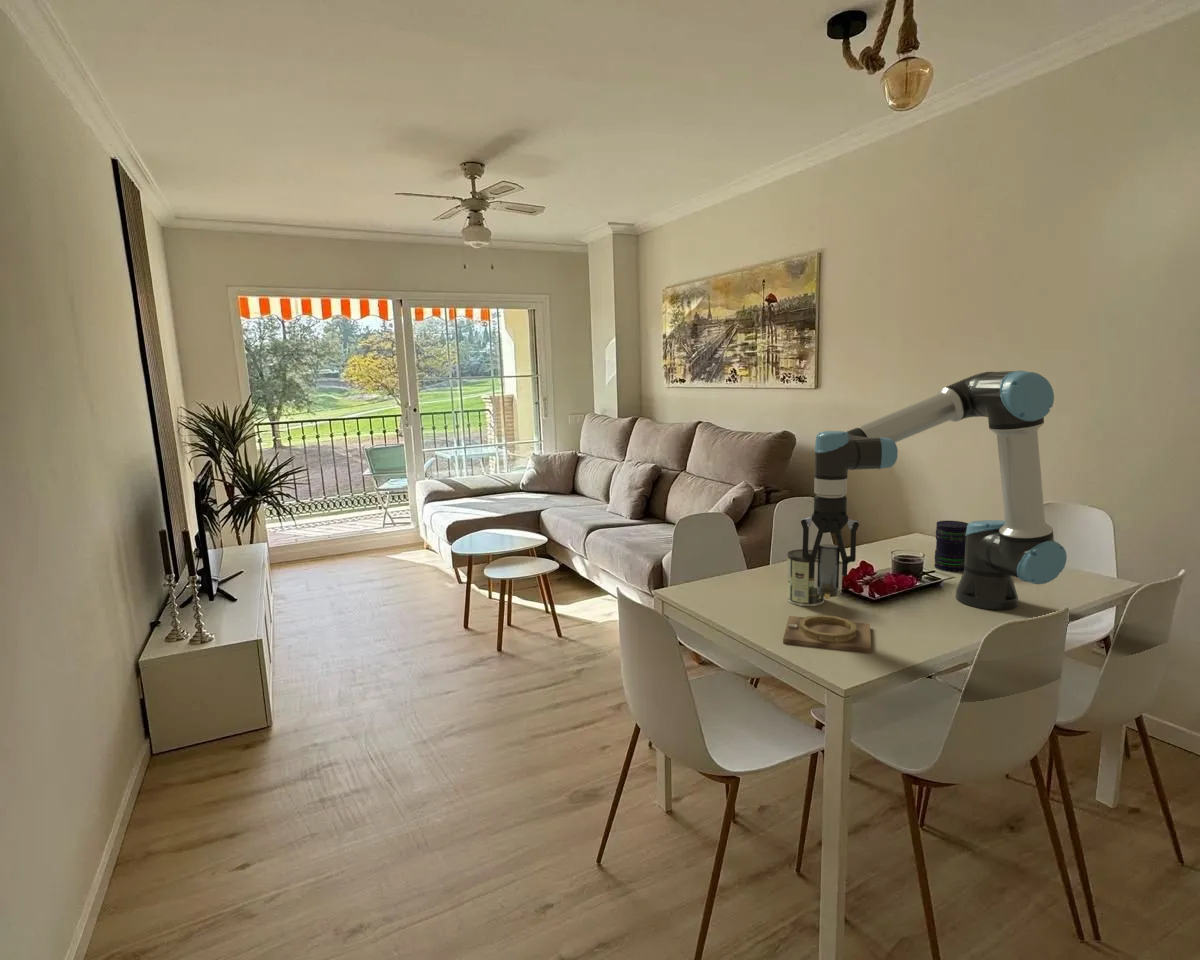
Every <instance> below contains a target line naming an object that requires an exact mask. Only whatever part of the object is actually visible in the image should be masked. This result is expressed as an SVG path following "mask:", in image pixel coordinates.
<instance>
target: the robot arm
mask: <svg viewBox="0 0 1200 960" xmlns="http://www.w3.org/2000/svg"><path fill="white" fill-rule="evenodd" d="M1054 401H1055V394H1054V389H1053V386H1052V385H1051V382H1049V380H1048V379H1047V378H1046V377H1044V376H1043V375H1041V374H1040V373H1037V372H1034V371H1025V370H1010V371H1009V370H1008V371H1006V370H1004V371H985V372H981V373H976V374H974V375H971V376H969V377H966V378H964V379H961V380H959V381H955V382H954V383H952V384H949V385H947V386H945V387H942V388H940V389H939V391H938V392H937V394H935V395H933V396H930V397H928V398H926V399H924V400H921V401H918V402H916V403H913V404H911V405H909V406H906V407H903V408H901V409H898V410H897V411H895V412H894V411H893V412H891V413H889V414H887V415H884V416H881V417H879V418H877V419H875V420H872V421H870V422H867V423H864V424H863V425H860V426H858V427H855V428H851V429H850V430H847V431H842V430H826V431H825V430H824V431H819V432H817V434H816V436H815V445H814V478H813V479H814V483H813V484H814V485H813V487H814V488H813V492H814V494H815V495H814V496H813V513H812V515H811V517H807V518H806V517H802V518H801V520H800V523H801V526H802V531H803V532H802V549H803V552H802V557H803V558H804V559H808V560H809V561H810V573H811V574H814V588H817V585H818V560H817V559H815V558H816V555H817V552H818V548H819V545H821V542H822V538H823V535H824V534H826V533H830V534H835V538H836V542H837V546H838V547H839V551H840V558H841V560H839V584H838V590H839V591H842V590H843V588H842V587H843V577H847V575H848V565H849V563H854V562H856V558H857V557H856V556H857V555H856V553H857V551H856V550H857V549H856V548H857V531H858V528H859V526H860V522H859V521H858V520H857V519H856V520H853V519H851V518H849V516H848V514H847V505H848V504H847V503H848V500H847V499H848V497H847V496H846V495H847V494H848V472H849V471H854V470H877V469H878V470H881V469H887V468H888V469H890V468H892V467H894V465H895V464H896V462H897V460H898V452H899V451H898V446H897V444H896V443H897V442H900V441H902V440H905V439H907V438H910V437H912V436H915V435H917V434H920V433H921V432H924V431H927V430H930V429H932V428H934V427H936V426H937V427H938V426H939V425H943V424H945V423H946V422H949V421H950V422H953V423H954V422H960V421H963V420H964V419H967V418H974V417H975V418H977V417H979V418H982V417H983V418H987V420H988V422H987V423H988V428H989V430H990V431H992V432H993V433H994V434H995V435H996V440H997V451H998V461H999V471H1000V472H999V473H1000V481H1001V482H1000V483H1001V491H1002V502H1003V503H1002V504H1003V512H1004V513H1003V514H1004V520H1001V519H999V520H998V519H997V520H996V519H995V520H994V519H987V520H986V519H985V520H973V521H971V522H968V525H967V530H966V534H965V536H966V540H965V564H964V572H962V573H963V574H962V576H961V578H960V580H959V582H958V584H957V587H956V590H955V599H956V600H957V601H958V602H961V603H963V604H964V605H966V606H970V607H974V608H980V609H985V610H998V611H1000V610H1001V611H1002V610H1003V611H1004V610H1011V609H1015V608H1017V607H1018V604H1019V596H1018V593H1017V588H1016V586H1015V583H1014V579H1013V577H1014V578H1016V579H1019V580H1021V581H1022V582H1026V583H1031V584H1034V585H1043V584H1047V583H1049V582H1050V583H1051V582H1052V581H1054V580H1055V579H1057V578H1058V577H1059V575H1060V573H1062V572H1063V570H1064V569H1065V567H1066V564H1067V559H1068V557H1067V555H1068V554H1067V551H1066V549H1065V547H1064V546H1062V545H1061V544H1060V543H1059V542H1057V541H1055V537H1054V530H1053V527H1052V526H1051V525H1049V524H1048V523H1047V522H1046V519H1045V517H1046V516H1045V505H1044V494H1043V492H1044V491H1043V482H1042V481H1043V480H1042V472H1041V471H1042V469H1041V459H1040V448H1039V447H1040V446H1039V434H1038V430H1039V429H1040V428H1041V427H1043V426H1044V424H1045V418H1044V417H1046V416H1047V415H1048V414H1049V413H1050V411H1051V410H1050V409H1051V408H1053V405H1054ZM812 523H813V524H814V525H815V526H816V528H817V529H818V531H817V535H816V537H815V541H814V544H813V548H812V549H811V550H812V553H811V554H810V553H808V550H809V542H810V541H809V540H810V539H809V537H810V535H809V534H810V527H811V525H812ZM846 525H848V529H849V530H850V545H849V546H850V547H849V548H850V549H849V550H850V551H849V552H850V553H849V554H850V555H847V552H846V551H847V550H846V547H845V543H844V538H843V534H842V531H841V530H842V529H844V527H845V526H846Z"/></svg>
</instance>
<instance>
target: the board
mask: <svg viewBox="0 0 1200 960" xmlns="http://www.w3.org/2000/svg"><path fill="white" fill-rule="evenodd" d="M871 638H872V637H871V623H868V622H867V623H866V622H858V621H857V622H855V621H851V620H849V619H846V618H843V617H839V616H836V615H824V614H818V615H808V616H806V617H805V616H796V615H795V616H794V615H793V616H792V615H788V620H787V623H786V626H785V630H784V633H783V637H782V643H783V644H786V645H787V644H788V645H796V646H803V647H804V646H805V647H813V648H815V647H816V648H820V649H821V648H823V649H832V650H840V651H848V652H849V651H850V652H856V653H857V652H859V653H860V652H861V653H865V654H866V653H868V654H871V653H872V641H871V640H872V639H871Z"/></svg>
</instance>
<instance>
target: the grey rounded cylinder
mask: <svg viewBox="0 0 1200 960" xmlns="http://www.w3.org/2000/svg"><path fill="white" fill-rule="evenodd" d="M840 558H841V555H840V551H839V547H838V544H837V545H836V544H831V543H829V544H828V543H827V544H826V543H825V544H822V543H821V544H820V545H819V548H818V585H817V594H819V595H821V596H824V599H826V600H830V599H831V597H832V598H833V597H834V598H835V597H838V596H839V594H840V593H839V591H840V590H838V584H839V561H840Z"/></svg>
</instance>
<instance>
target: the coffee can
mask: <svg viewBox="0 0 1200 960" xmlns="http://www.w3.org/2000/svg"><path fill="white" fill-rule="evenodd" d="M812 550H813V549H808V553H810V554H811V553H812ZM802 552H803V548H800V549H799V548H798V549H793V550H790V551H788V552H787V553H786V555H787V598H786V599H787V601H788V602H789V603H790V604H792V605H795V606H799V607H817V606H821V605H823V604H824V603H825V600H824V599H825V596H821V595H819V594H817V588H814V574H811V573H810V561H809V560H808V559H804V558H803V557H802ZM815 559H817V560H818V552H817V555H816V558H815Z"/></svg>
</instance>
